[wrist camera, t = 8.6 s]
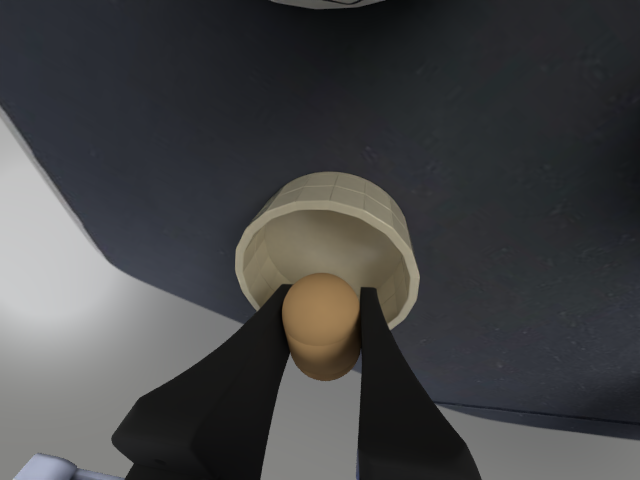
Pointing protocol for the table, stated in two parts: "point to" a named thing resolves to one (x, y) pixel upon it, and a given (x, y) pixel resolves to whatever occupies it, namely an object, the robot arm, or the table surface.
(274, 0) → the planter
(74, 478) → the robot arm
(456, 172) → the table surface
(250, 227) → the bowl
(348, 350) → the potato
